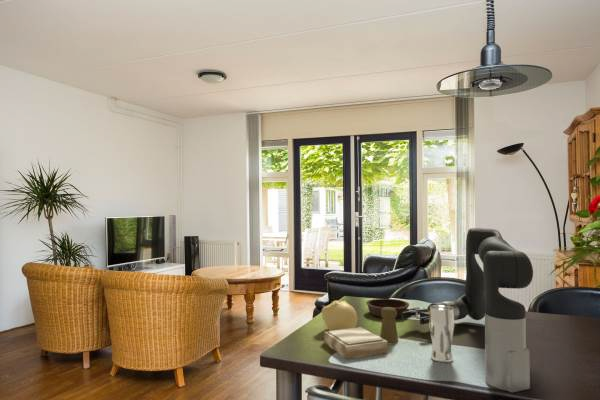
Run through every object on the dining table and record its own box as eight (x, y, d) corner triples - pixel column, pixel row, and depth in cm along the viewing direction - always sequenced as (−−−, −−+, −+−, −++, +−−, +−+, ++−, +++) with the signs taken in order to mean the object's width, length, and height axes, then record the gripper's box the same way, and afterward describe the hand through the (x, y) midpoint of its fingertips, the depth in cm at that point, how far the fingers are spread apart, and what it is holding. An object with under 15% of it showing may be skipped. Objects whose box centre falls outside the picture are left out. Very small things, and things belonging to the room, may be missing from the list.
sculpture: (338, 324, 160) (338, 296, 160) (363, 331, 151) (363, 301, 151) (317, 330, 152) (317, 300, 152) (342, 338, 143) (341, 306, 143)
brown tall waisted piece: (398, 344, 137) (398, 310, 137) (379, 343, 138) (379, 309, 138) (398, 338, 142) (397, 306, 143) (379, 337, 144) (379, 305, 144)
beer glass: (434, 353, 128) (434, 303, 128) (457, 358, 124) (457, 307, 124) (425, 359, 123) (425, 307, 123) (449, 365, 118) (449, 311, 119)
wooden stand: (387, 353, 128) (387, 339, 128) (346, 359, 123) (346, 345, 123) (361, 338, 143) (361, 326, 143) (324, 342, 138) (323, 330, 138)
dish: (402, 308, 186) (402, 297, 186) (415, 322, 164) (415, 309, 164) (363, 308, 186) (363, 297, 186) (370, 321, 164) (370, 309, 164)
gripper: (427, 298, 160) (396, 303, 152) (459, 305, 148) (427, 311, 140) (428, 318, 160) (396, 324, 152) (459, 327, 148) (427, 334, 140)
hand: (411, 318), depth 146 cm, fingers open, 8 cm apart
